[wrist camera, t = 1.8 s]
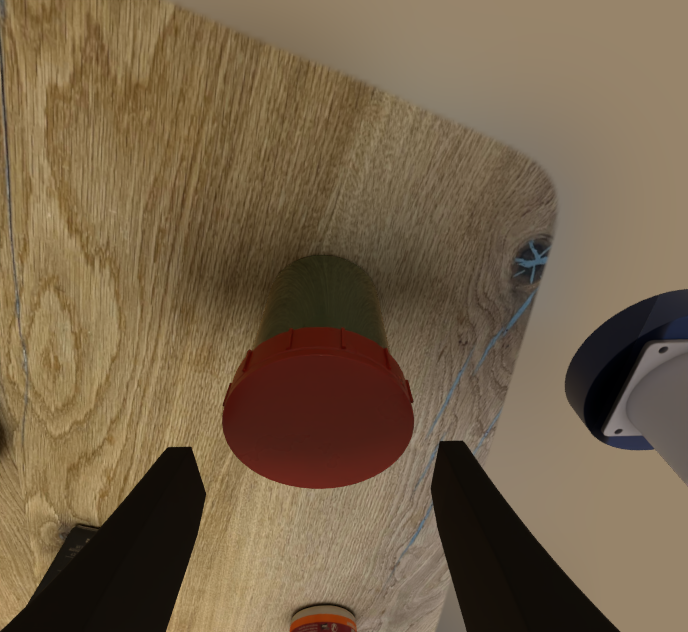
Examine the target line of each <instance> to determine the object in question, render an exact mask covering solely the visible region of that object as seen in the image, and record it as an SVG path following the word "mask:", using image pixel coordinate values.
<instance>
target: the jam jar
mask: <svg viewBox="0 0 688 632" xmlns="http://www.w3.org/2000/svg"><path fill="white" fill-rule="evenodd" d="M305 327H332V328H337V329H341V327H343V328H345V330H347V331H351V332H354V333H357V334H359V335H361V336H364V337H366V338H368V339H370V340H372V341H374V342H376V343H377V344H378V345H380V346H381V347H382V348H383V349H384V348H385V347H386V348H387V349H388V352H389V354H390V355H391V353H390V349H389V344H388V340H387V335H386V330H385V326H384V321H383V317H382V312H381V307H380V303H379V298H378V294H377V291H376V288H375V285H374V284H373V282H372V280H371V279H370V277H369V276H368V275H367V274H366V273H365V271H364V270H362V269H361V268H360V267H359V266H357V265H356V264H354V263H352V262H350V261H348V260H346V259H343V258H340V257H336V256H330V255H316V256H310V257H306V258H302V259H299V260H297V261H295V262H293V263H292V264H290V265H289V266H287V267H286V268H285V269H284V270H282V271H281V272H280V274H279V275H278V276H277V277H276V279H275V280H274V282H273V284H272V286H271V288H270V292H269V295H268V298H267V302H266V305H265V308H264V312H263V315H262V318H261V322H260V325H259V328H258V332H257V335H256V338H255V341H254V345H253V348H252V350H254V349H255V348H256V347H257V346H258V345H259V344H261V343H263V342H264V341H266V340H268V339H270V338H272V337H274V336H276V335H278V334H281V333H283V332H288V331H289V329H290V328H293V330H296V329H300V328H305Z"/></svg>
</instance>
